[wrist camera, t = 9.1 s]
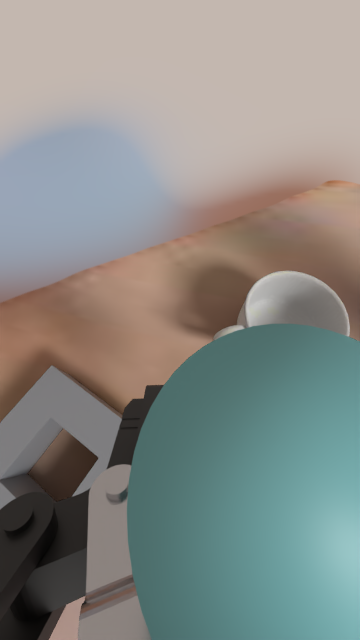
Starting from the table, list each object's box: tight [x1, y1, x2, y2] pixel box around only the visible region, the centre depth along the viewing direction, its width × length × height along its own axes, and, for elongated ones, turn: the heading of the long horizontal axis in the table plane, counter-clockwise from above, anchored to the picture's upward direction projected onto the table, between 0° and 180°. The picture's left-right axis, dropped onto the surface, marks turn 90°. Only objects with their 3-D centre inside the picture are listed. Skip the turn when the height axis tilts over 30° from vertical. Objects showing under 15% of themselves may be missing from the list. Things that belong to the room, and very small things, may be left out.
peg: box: [127, 324, 360, 640], centre depth 9 cm, size 4×4×13 cm
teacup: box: [213, 271, 350, 340], centre depth 29 cm, size 14×11×8 cm
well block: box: [0, 365, 123, 509], centre depth 25 cm, size 14×14×4 cm
